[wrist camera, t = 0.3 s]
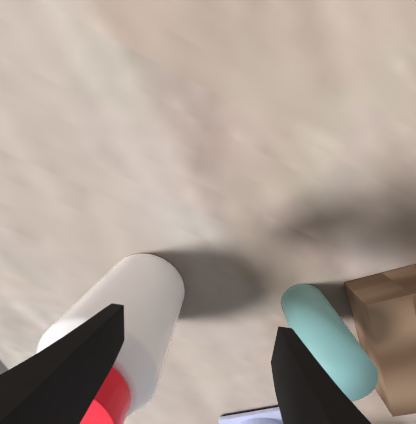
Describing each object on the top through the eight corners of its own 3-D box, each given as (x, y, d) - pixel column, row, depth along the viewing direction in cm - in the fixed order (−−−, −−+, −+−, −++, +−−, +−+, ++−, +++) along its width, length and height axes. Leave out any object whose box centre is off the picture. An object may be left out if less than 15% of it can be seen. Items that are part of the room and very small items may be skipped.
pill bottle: (200, 296, 20) (172, 447, 10) (145, 332, 22) (68, 494, 11) (149, 237, 19) (54, 334, 9) (95, 280, 21) (-42, 404, 10)
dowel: (329, 314, 20) (384, 396, 13) (287, 324, 20) (318, 406, 13) (319, 279, 19) (371, 346, 12) (275, 290, 19) (302, 360, 13)
